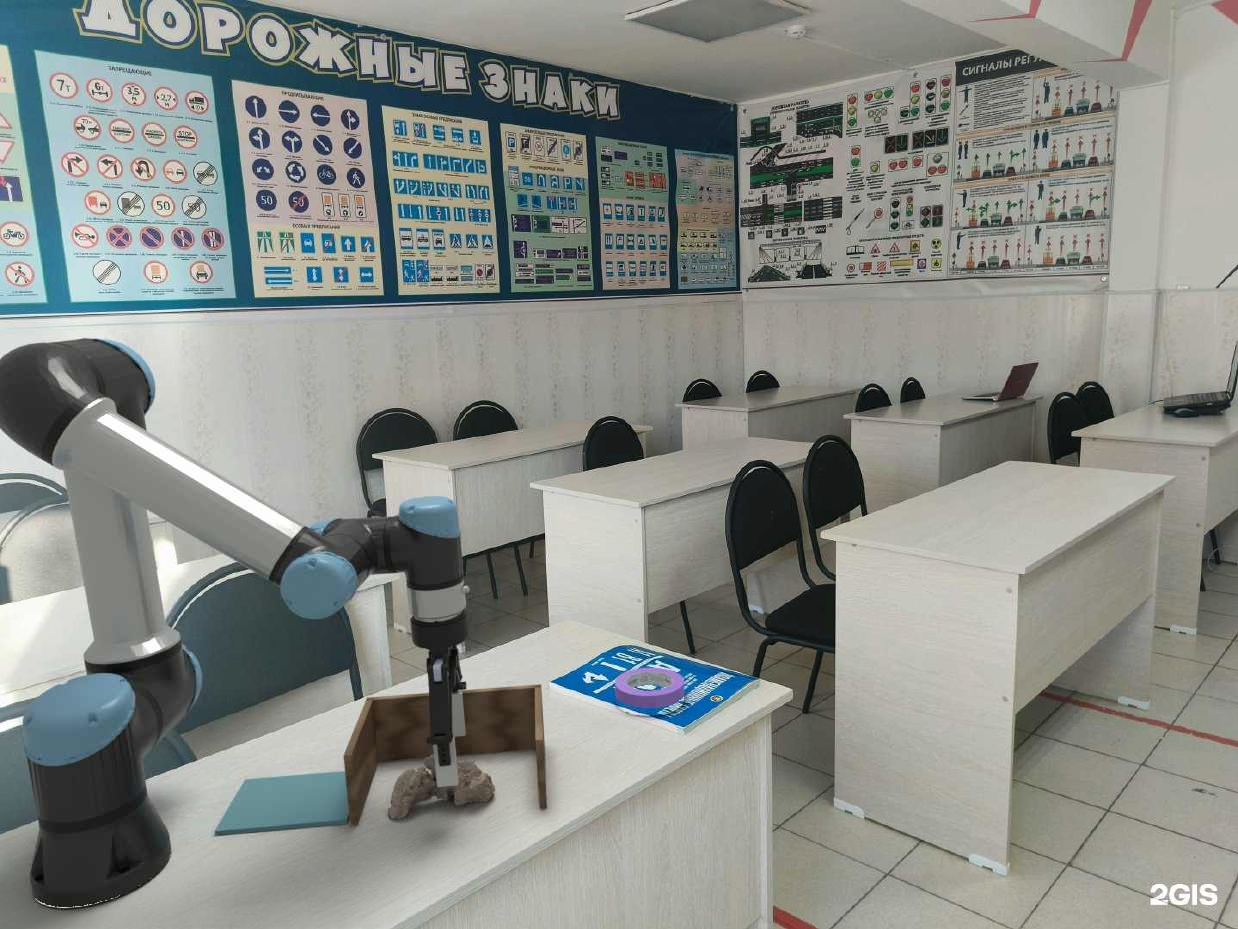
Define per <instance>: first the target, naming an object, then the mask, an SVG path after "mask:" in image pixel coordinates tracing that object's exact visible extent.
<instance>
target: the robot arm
mask: <svg viewBox="0 0 1238 929" xmlns="http://www.w3.org/2000/svg"><path fill="white" fill-rule="evenodd" d="M155 381H156V380H155V378H154V374H153V372H152V370H151V368H150V366H149V365H148V363H147V361H145V359H144V358H143V356H141V355H140V354H139V353H137V351H135V350H134V349H133V348H130V346H127V345H126V344H124V343H121V342H119V341H116V340H112V339H105V338H103V339H102V338H96V337H95V338H87V337H82V338H78V339H77V338H76V339H70V340H69V339H68V340H62V341H52V342H45V341H43V342H35V343H27V344H24V345H21V346H18V347H16V348H13V349H11V350H10V351H9V352H7V353H6V354H4V355H3V356H2V357H1V358H0V430H1V432H3V433H4V434H5V435H6V436H7V437H8V438H9V439H10V440H12V442H14V443H16V445H18V446H19V447H21V448H22V449H24V450H26V451H27V452H28V453H30V454H32V455H33V456H35V457H36V458H38V459H40V460H42V461H43V462H45V463H47V464H49V465H51V466H52V467H54V468H56V469H57V470H59V471H63V476H64V482H65V487H66V493H67V499H68V504H69V511H70V516H71V520H72V526H73V532H74V538H75V543H76V548H77V553H78V558H79V566H80V570H81V576H82V582H83V586H84V593H85V597H86V604H87V608H88V609H87V610H88V613H89V618H90V619H89V620H90V625H91V629H92V630H91V631H92V637H93V640H92V642H91V644H90V645H88V647H87V648H86V650H85V651H84V653H83V656H82V657H83V661H84V666H85V672H86V675H81V676H78V677H74V678H71V679H68V680H67V681H66V682H65V683H63V684H57V685H54V686H52V687H50V688H49V689H47V690H44V692H42V693H41V694H40V695H38V696H37V697H36V698H35V699H33V701H32V702H31V703H30V704H29V705H28V707H27V708H26V710H25V712H24V714H23V717H22V733H23V735H22V736H23V737H22V748H23V750H24V754H25V756H26V761H27V766H28V771H29V777H30V782H31V788H32V794H33V800H34V806H35V811H36V817H37V820H38V833H37V834H38V835H37V837H36V844H35V849H34V853H33V857H32V862H31V867H30V871H29V881H30V886H31V887H30V888H31V893H33V894H32V897H33V896H34V897H35V898H36V899H37V900H38V901H40V902H42V903H45V904H46V905H51V906H55V907H57V906H58V907H73V906H74V907H75V906H84V905H87V904H88V905H89V904H95V903H97V902H100V901H105V900H109V901H111V900H110V899H111V898H115V897H117V896H119V895H122V896H124V895H126V894H128V893H130V892H132V891H134V890H136V889H137V888H136V887H138V886H139V885H141V884H143V883H144V884H146V883H147V882H149V881H150V880H151V879H152V878H151V877H153V878H154V877H156V875H157V874H156V873H158V872H159V871H160V870H161V869H162V870H163V868H164V867H165V866H166V865H167V863H168V862H169V860H170V858H171V856H172V844H171V843H172V842H171V837H170V836H171V835H170V832H169V828H167V826H166V825H165V823H164V821H163V820H162V817H161V815H160V814H159V813H158V811H157V809H156V808H155V806H154V804H153V803H152V801H151V799H150V798H149V795H148V789H147V782H146V775H145V769H144V762H143V761H144V757H146V756H147V755H148V754H149V752H150V751H151V750H152V749H154V747H156V746H157V744H158V743H159V742H160V741H161V740H162V739H164V738H165V737H166V736H167V735H168V734H169V733H170V732H171V731H172V729H174V728H175V727H176V726H178V725H179V724H180V723H181V722H182V721H183V720H184V719H185V718H186V717H187V715H189V713H190V712H191V710H192V708H193V706H194V705H195V704H196V702H197V700H198V699H199V696H200V692H201V690H202V685H203V684H202V683H203V674H202V669H201V666H200V663H199V660H198V659H197V657H196V655H195V654H194V652H192V651H190V650H188V649H187V646H186V645H185V644H183V642H182V638H181V634H180V632H179V631H177V629H174V628H172V627H171V626H169V625H167V622H166V618H165V609H164V604H163V599H162V594H161V592H162V591H161V586H160V582H159V576H158V570H157V569H158V568H157V564H156V563H157V562H156V558H155V553H154V552H155V550H154V545H153V538H152V534H151V533H152V532H151V527H150V522H149V517H148V516H149V515H148V511H149V512H151V513H152V514H154V515H156V516H158V517H159V518H160V519H163V520H164V521H166V522H168V523H169V524H170V525H173V526H174V527H176V528H178V529H180V530H182V531H183V532H185V533H186V534H188V535H190V536H192V537H194V538H195V539H197V540H199V541H201V542H202V543H204V544H205V545H207V546H208V547H211V548H212V549H214V550H216V551H217V552H219V553H221V554H223V555H224V556H226V557H228V558H229V559H232V560H233V561H235V562H236V563H238V564H240V565H242V566H244V567H245V568H247V569H249V570H250V571H252V572H254V573H255V574H256V575H257V574H258V575H259V576H261V577H263V578H264V579H266V580H268V581H269V582H271V583H273V584H274V585H275V586H276V587H279V588H280V595H281V597H282V599H283V601H284V603H285V605H286V606H287V607H288V609H289V610H290V611H291V612H292V613H294V615H295V614H296V615H297V616H299V617H302V618H303V619H309V620H310V619H311V620H321V619H325V618H328V617H330V616H333V615H334V614H335V613H336V612H338V611H339V610H340V609H342V608H343V607H345V606H346V605H347V603H348V602H349V601H350V602H351V600H352V599H353V598H354V596H355V595H356V593H357V590H358V589H359V588H361V586H362V585H363V584H364V582H366V580H367V579H368V578H369V577H370V576H372V575H373V576H375V575H388V574H389V575H390V574H391V575H392V574H398V573H404V575H405V578H406V579H405V581H406V585H405V586H406V596H407V606H408V613H409V615H411V617H410V630H411V641H412V642H413V643H412V644H413V645H414V646H416V647H418V648H419V649H425V650H428V657H426V663H425V664H426V672H427V680H428V682H427V684H428V685H427V686H428V693H429V710H430V737H427V738H426V740H427V743H430V744H431V745H433V749H434V759H435V769H436V779H437V787H444V786H454V785H458V783H459V780H458V770H457V760H458V758H457V756H456V748H455V738H454V737H456V736H465V735H466V730H465V719H464V708H463V697H462V692H458V691H460V690H467V681H465V680H464V681H462V680H463V674H462V669H461V668H462V667H461V662H460V656H459V654H460V653H459V647H458V645H460V644H462V643H464V642H465V641H466V640H467V639H468V638H469V635H470V634H469V633H470V632H469V631H470V630H469V621H468V620H469V619H468V611H466V610H465V608H466V606H467V601H466V600H467V599H466V594H468V593H469V592H471V591H470V587H469V586H468V585H464V584H465V580H464V579H465V576H464V567H463V565H464V564H463V554H462V553H463V550H462V538H461V537H462V535H461V534H462V532H461V528H460V523H459V517H458V511H457V504H456V503H455V502H454V501H453V500H452V499H451V498H449V497H446V496H439V495H430V496H429V495H427V496H422V497H414V498H410V499H407V500H404V501H403V502H402V503H401V504H400V505H399V508H398V513H397V514H396V515H393V516H381V517H380V516H379V517H360V518H357V517H356V518H342V517H337V518H333V519H327V520H319V521H315V522H314V523H313V524H311V525H310V526H306V524H303V523H302V522H300V521H298V520H297V519H295V518H294V517H291V516H290V515H288V514H287V513H285V512H283V511H282V510H280V509H279V508H277V507H275V506H273V505H272V504H270V503H268V502H267V501H265V500H263V499H261V498H260V497H258V496H256V495H255V494H253V493H251V491H250V492H249V491H248V490H246V489H244V487H241V486H240V485H238V484H236V483H234V481H231V480H230V479H228V478H226V477H225V476H223V475H222V474H220V473H218V472H217V471H214V470H213V469H212V468H209V467H208V466H206V465H204V464H202V463H201V462H200V461H198V460H196V459H195V458H193V457H192V456H190V455H188V454H186V453H184V452H183V451H181V450H179V449H177V447H175V446H173V445H171V444H169V443H167V442H166V441H164V440H163V439H161V438H159V437H158V436H156V435H155V434H152V433H151V432H150V431H148V430H147V424H146V419H145V416H146V415H147V414H148V412H149V411H150V409H151V407H152V406H153V404H154V401H155V397H156V382H155ZM170 855H171V856H170ZM162 870H161V871H162ZM161 871H160V872H161ZM160 872H159V873H160ZM159 873H158V874H159ZM150 878H151V879H150ZM149 879H150V880H149ZM148 880H149V881H148ZM145 882H146V883H145ZM144 884H143V885H144ZM141 886H142V885H141ZM138 888H139V887H138ZM133 889H134V890H133ZM131 890H132V891H131ZM129 891H130V892H129ZM127 892H128V893H127ZM123 894H124V895H123ZM34 897H33V898H34ZM117 898H118V897H117ZM115 899H116V898H115Z"/></svg>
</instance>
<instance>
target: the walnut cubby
mask: <svg viewBox="0 0 1238 929" xmlns="http://www.w3.org/2000/svg"><path fill="white" fill-rule="evenodd" d="M542 688H543V687H542V684H539V683H538V684H531V685H516V686H515V685H514V686H501V687H489V688H475V689H466V690H458V692H462V697H463V708H464V719H465V730H466V735H465V736H456V737H454V738H455V748H456V757H457V756H466V755H477V754H479V755H481V754H489V753H490V754H492V753H502V752H503V753H504V752H515V751H527V750H528V751H529V750H535V752H536V753H535V754H536V771H537V772H536V774H537V788H538V801H539V803H538V804H539V805H538V806H539V809H541V810H542V809H548V802H547V801H548V800H547V798H548V796H547V772H546V770H547V768H546V742H545V741H546V740H545V726H544V724H545V723H544V707H543V691H542V690H543V689H542ZM427 737H430V710H429V692H424V693H409V694H397V695H396V694H395V695H382V696H372V697H371V696H370V697H366V698H365V701H364V704H363V707H362V709H361V712H360V714H359V716H358V719H357V720H356V723H355V727H354V729H353V730H352V733H351V736H350V739H349V741H348V744H347V746H346V748H345V750H344V752H343V753H344V754H343V756H342V757H343V765H344V771H345V777H346V787H347V797H348V806H349V816H350V817H349V826H359V823H360V820H361V817H362V814H363V811H364V807H365V805H366V803H367V798H368V795H369V793H370V789H371V786H372V783H373V780H374V776H375V775H376V774H375V773H376V771H377V768H378V765H379V763H381V762H382V763H383V762H396V761H406V760H418V759H419V760H420V759H421V760H422V759H425V757H430V756H431V755H432V754H433V755H434V749H433V745H431V744H430V743H427V740H426V738H427Z"/></svg>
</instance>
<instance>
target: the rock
mask: <svg viewBox="0 0 1238 929" xmlns="http://www.w3.org/2000/svg"><path fill="white" fill-rule="evenodd" d="M429 770H430V772H429ZM457 770H458V780H459V783H458V785H454V786H444V787H437V779H436V769H435V759H434V755H433V754H432V755H431V756H430V757H425V758H424V761H423V766H421V767H418V768H417V769H415V768H414V767H411V768H410V769H407V770H405V771H403V773H402V774H400V775H399V776H398V777H397V779H396V781H395V782H394V785H393V791H392V793H391V798H390V807H388V808H387V815H388V817H389V818H391V819H397V820H400V819H404V818H405V817H406V816H407V814H408V813H409V811H410V809H411V807H413V806H414V805H417V804H419V803H421V802H427V801H429V800H431V799H432V798H434V797H435V798H436V799H437V800H442V801H444V802H447V801H448V800H449V799H450V798H451V797H452V796H453V800H454V804H455V805H456V806H458V807H459V808H463V807H464V805H466V803H469V804H473V801H474V802H475V803H479V802H489V801H490V799H491V798H492V796H493V794H494V793H495V792H496V787H495V785H494V783H493V782H492V776H490V775H488V773H486V772H483V771H482V769H480V768H479V767H478V765H477V764H476V763H475V760H467V759H464V761H461V760H460V761H458V759H457Z"/></svg>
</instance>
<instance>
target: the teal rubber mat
mask: <svg viewBox="0 0 1238 929" xmlns="http://www.w3.org/2000/svg"><path fill="white" fill-rule="evenodd" d="M349 821H350V816H349V806H348V797H347V787H346V777H345V770H341V771H330V772H316V773H306V774H305V773H303V774H294V775H281V776H280V775H279V776H269V777H268V776H267V777H255V778H245V779H244V780H243V782H242V784H241V786H240V787H239V789H238V791H237V792H236V794H235V796H234V798H232V801H231V802H230V804H229V806H228V808H227V809H226V811H225V812H224V814H223V816H222V818H221V819H220V821H219V823H218V824H217V827H216V828H215V830H214V835H215V834H223V835H231V834H233V835H235V834H243V833H244V832H245V833H255V832H254V831H256V833H257V831H258V832H268V831H277V830H280V831H281V830H288V829H289V828H290V829H291V828H292V829H301V828H314V827H325V826H336V825H345V824H346V825H347V824H348V822H349ZM252 831H253V832H252ZM234 833H235V834H234ZM245 833H244V834H245Z"/></svg>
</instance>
